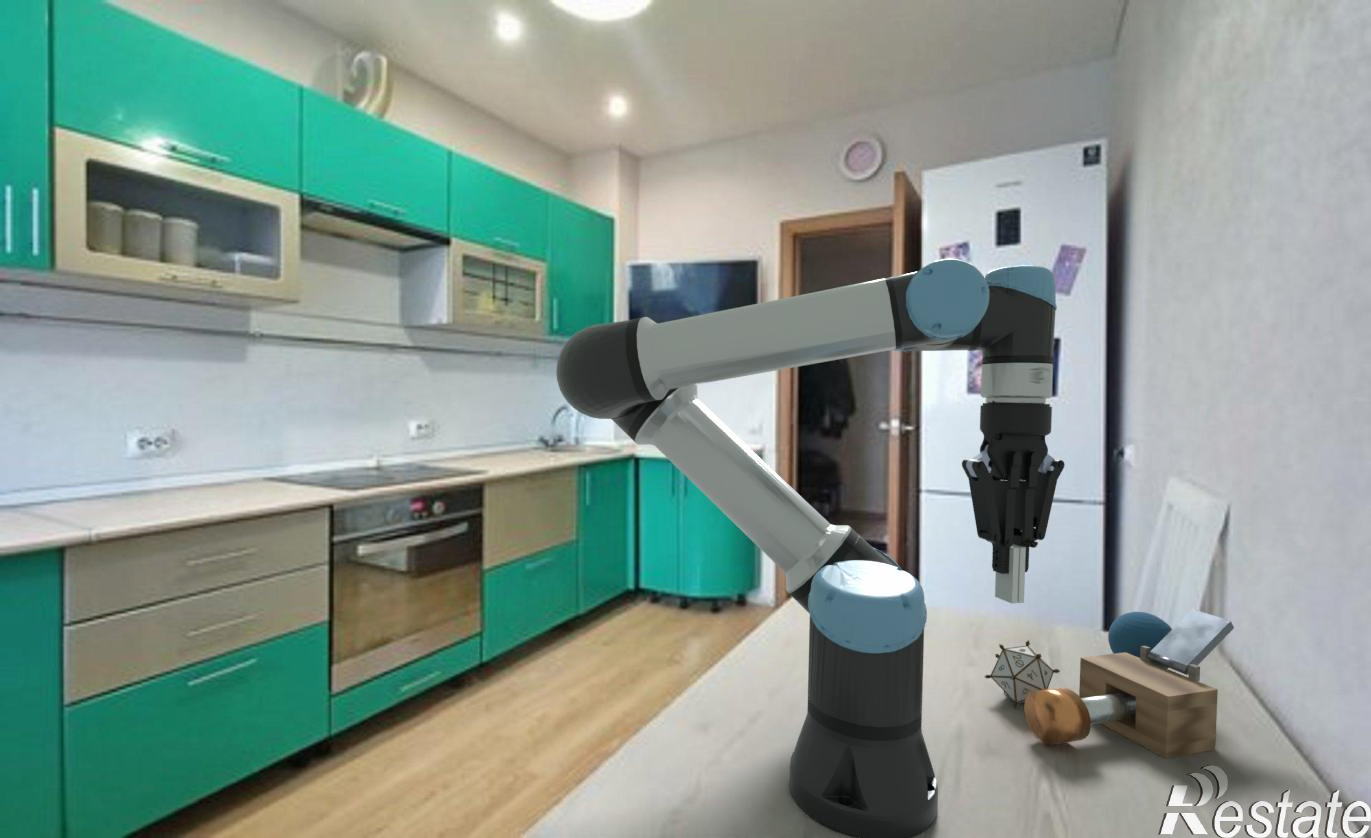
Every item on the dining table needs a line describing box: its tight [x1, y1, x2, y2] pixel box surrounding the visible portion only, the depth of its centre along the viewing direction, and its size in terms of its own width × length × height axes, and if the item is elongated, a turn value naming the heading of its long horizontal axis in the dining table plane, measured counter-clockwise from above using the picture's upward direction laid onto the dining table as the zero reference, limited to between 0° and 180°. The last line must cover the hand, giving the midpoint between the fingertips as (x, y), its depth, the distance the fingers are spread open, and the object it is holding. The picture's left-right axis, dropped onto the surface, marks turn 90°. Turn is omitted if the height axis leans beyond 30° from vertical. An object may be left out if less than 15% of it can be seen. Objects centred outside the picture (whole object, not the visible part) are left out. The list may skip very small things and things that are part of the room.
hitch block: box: [1078, 646, 1219, 759], centre depth 84 cm, size 8×12×9 cm
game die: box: [984, 640, 1061, 710], centre depth 91 cm, size 9×8×10 cm
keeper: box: [1148, 609, 1235, 676], centre depth 86 cm, size 10×5×1 cm
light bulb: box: [1107, 611, 1173, 670], centre depth 93 cm, size 8×8×12 cm
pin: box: [1023, 687, 1136, 746], centre depth 81 cm, size 16×6×6 cm, turn 106°
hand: (1009, 599), depth 77 cm, fingers closed
